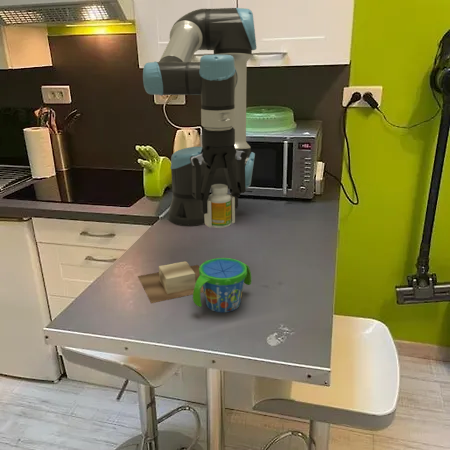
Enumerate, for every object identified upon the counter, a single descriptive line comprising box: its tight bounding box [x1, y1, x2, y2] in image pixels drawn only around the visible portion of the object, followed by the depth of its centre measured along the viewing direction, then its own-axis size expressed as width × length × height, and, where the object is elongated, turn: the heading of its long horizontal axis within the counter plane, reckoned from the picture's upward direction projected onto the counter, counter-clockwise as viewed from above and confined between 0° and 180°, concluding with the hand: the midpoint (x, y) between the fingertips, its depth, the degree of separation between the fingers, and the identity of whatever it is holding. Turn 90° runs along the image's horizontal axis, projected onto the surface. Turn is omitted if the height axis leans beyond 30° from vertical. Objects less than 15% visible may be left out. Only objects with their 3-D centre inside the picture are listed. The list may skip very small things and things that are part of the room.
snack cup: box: [192, 257, 253, 313], centre depth 108 cm, size 16×10×10 cm
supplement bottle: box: [208, 184, 232, 229], centre depth 116 cm, size 5×5×10 cm
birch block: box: [158, 261, 195, 294], centre depth 117 cm, size 7×7×4 cm
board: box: [137, 264, 204, 304], centre depth 119 cm, size 14×16×1 cm
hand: (219, 223), depth 118 cm, fingers closed on supplement bottle, 5 cm apart
